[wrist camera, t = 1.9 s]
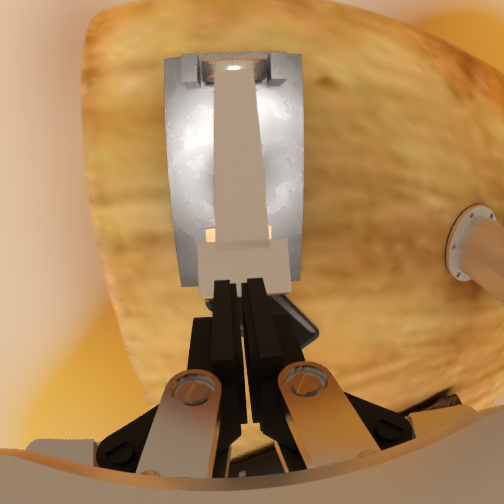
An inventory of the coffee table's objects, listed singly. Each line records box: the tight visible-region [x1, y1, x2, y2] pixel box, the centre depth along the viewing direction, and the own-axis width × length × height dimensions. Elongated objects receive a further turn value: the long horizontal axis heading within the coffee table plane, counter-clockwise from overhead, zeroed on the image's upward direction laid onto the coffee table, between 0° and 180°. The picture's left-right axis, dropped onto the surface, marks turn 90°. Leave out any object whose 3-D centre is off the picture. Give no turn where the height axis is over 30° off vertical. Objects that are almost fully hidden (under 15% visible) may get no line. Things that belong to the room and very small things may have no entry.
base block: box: [164, 51, 304, 287], centre depth 25 cm, size 22×12×8 cm, turn 1°
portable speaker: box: [228, 448, 285, 478], centre depth 48 cm, size 26×10×10 cm, turn 130°
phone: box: [206, 294, 319, 349], centre depth 37 cm, size 8×1×15 cm
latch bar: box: [197, 58, 292, 299], centre depth 18 cm, size 18×5×2 cm
